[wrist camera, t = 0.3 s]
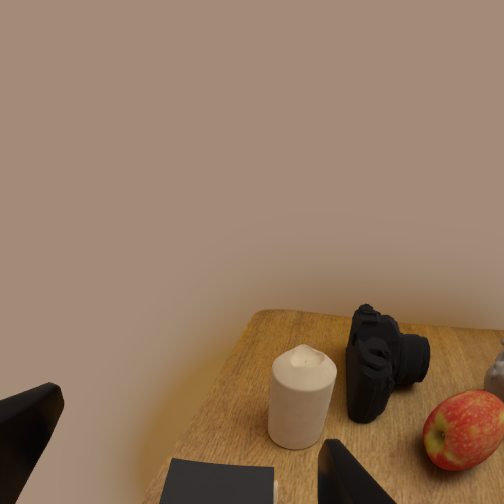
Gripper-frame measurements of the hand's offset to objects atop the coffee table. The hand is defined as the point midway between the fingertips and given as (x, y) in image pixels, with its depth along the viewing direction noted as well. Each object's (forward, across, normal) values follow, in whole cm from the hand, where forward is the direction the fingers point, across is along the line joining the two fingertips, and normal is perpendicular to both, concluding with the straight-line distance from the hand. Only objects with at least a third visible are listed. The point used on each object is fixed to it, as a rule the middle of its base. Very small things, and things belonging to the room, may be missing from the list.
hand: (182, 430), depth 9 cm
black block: (+2, -2, +10) cm, 10 cm away
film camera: (+23, -19, +14) cm, 33 cm away
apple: (+10, -24, +15) cm, 30 cm away
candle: (+16, -8, +16) cm, 24 cm away
